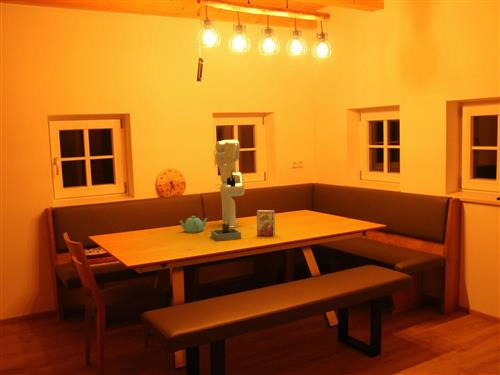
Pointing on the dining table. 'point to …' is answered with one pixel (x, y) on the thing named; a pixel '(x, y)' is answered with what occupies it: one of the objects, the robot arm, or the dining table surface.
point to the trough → (225, 235)
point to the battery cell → (225, 228)
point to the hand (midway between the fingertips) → (231, 185)
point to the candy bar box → (265, 223)
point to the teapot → (193, 225)
